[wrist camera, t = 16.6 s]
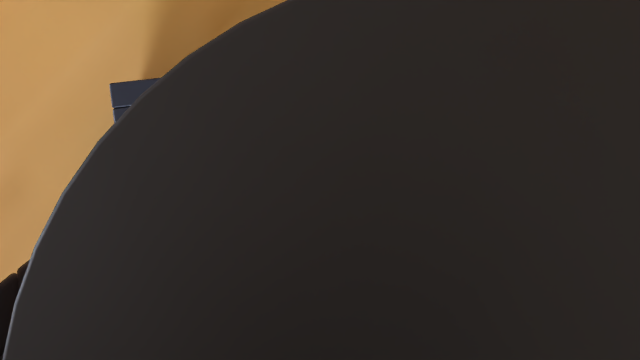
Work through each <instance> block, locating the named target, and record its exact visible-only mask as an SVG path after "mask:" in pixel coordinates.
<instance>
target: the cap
mask: <svg viewBox="0 0 640 360" xmlns="http://www.w3.org/2000/svg"><path fill="white" fill-rule="evenodd" d="M2 360H640V0H287V1H285V2H283V3H280V4H278V5H276V6H274V7H272V8H270V9H268V10H265V11H263V12H261V13H259V14H257V15H255V16H252V17H250V18H248V19H246V20H244V21H242V22H240V23H238V24H237V25H235V26H233V27H232V28H230V29H229V30H227V31H226V32H224V33H222V34H221V35H219V36H218V37H216V38H215V39H213V40H211V41H210V42H208V43H207V44H205V45H204V46H202V47H200V48H199V49H197V50H196V51H194V52H193V53H191V54H189V55H188V56H187V57H185V58H184V59H183V60H182V61H181V62H179V63H178V64H177V65H176V66H175V67H173V68H172V69H171V70H170V71H169V72H167V73H166V74H165V75H164V76H163V77H162V78H160V79H159V80H158V81H157V82H156V83H154V84H153V85H152V86H151V87H150V88H148V89H147V90H146V91H145V92H144V93H142V94H141V95H140V96H139V97H138V98H137V99H136V100H135V102H134V103H133V104H132V105H131V106H130V107H129V108H128V109H127V110H126V111H125V112H124V114H123V115H122V116H121V117H120V118H119V119H118V120H117V121H116V122H115V123H114V125H113V126H112V127H111V128H110V129H109V130H108V131H107V132H106V133H105V134H104V135H103V137H102V138H101V139H100V140H99V141H98V142H97V144H96V145H95V147H94V148H93V149H92V151H91V152H90V154H89V155H88V157H87V158H86V160H85V161H84V162H83V164H82V165H81V167H80V168H79V170H78V171H77V172H76V174H75V175H74V177H73V178H72V180H71V181H70V183H69V184H68V185H67V187H66V188H65V190H64V191H63V193H62V194H61V196H60V198H59V200H58V202H57V204H56V206H55V208H54V210H53V212H52V214H51V216H50V218H49V220H48V222H47V224H46V226H45V228H44V229H43V231H42V233H41V235H40V237H39V239H38V241H37V243H36V245H35V247H34V250H33V253H32V255H31V258H30V261H29V264H28V267H27V269H26V272H25V275H24V278H23V281H22V283H21V286H20V289H19V292H18V295H17V297H16V300H15V303H14V307H13V312H12V316H11V321H10V326H9V331H8V335H7V340H6V345H5V349H4V354H3V359H2Z"/></svg>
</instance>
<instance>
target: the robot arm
mask: <svg viewBox="0 0 640 360" xmlns="http://www.w3.org/2000/svg"><path fill="white" fill-rule="evenodd" d="M29 261H30V260H28V261H27V262H26V263H25V264H23V265H22V266H21V267H20V268H19V269H18V271H17V274H16V273H12V274H11V275H9V276H8V277H7V278H6V279H4V280H3V281H2V282H1V283H0V360H2V359H3V354H4V349H5V345H6V340H7V335H8V331H9V326H10V321H11V316H12V312H13V307H14V303H15V300H16V297H17V295H18V292H19V289H20V286H21V283H22V281H23V278H24V275H25V272H26V269H27V267H28V264H29Z"/></svg>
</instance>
